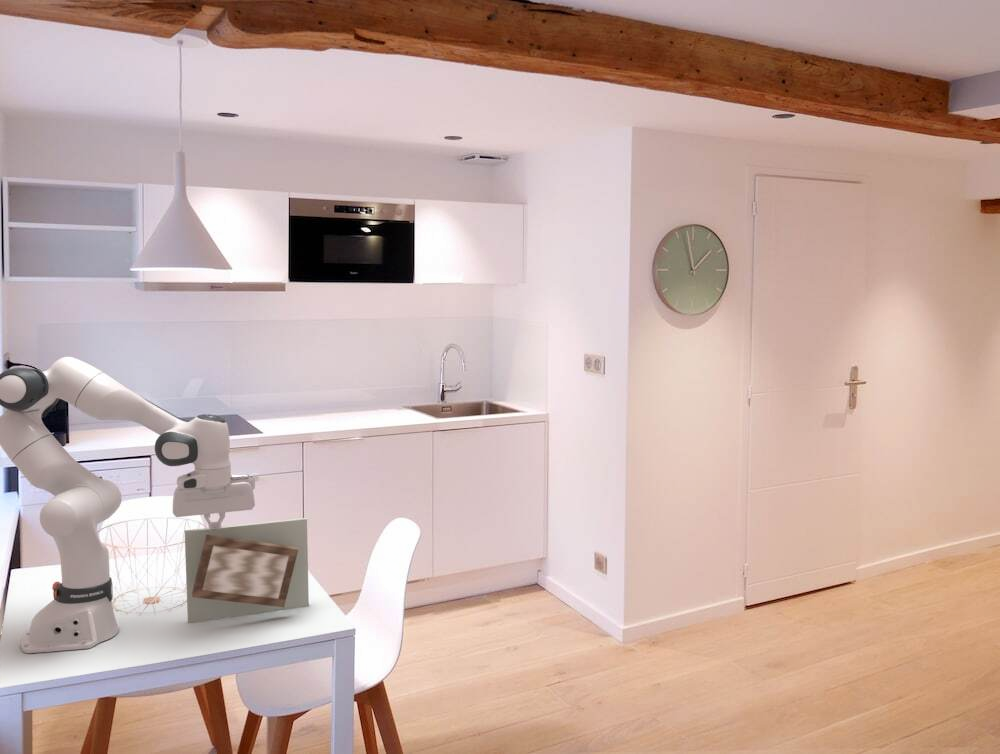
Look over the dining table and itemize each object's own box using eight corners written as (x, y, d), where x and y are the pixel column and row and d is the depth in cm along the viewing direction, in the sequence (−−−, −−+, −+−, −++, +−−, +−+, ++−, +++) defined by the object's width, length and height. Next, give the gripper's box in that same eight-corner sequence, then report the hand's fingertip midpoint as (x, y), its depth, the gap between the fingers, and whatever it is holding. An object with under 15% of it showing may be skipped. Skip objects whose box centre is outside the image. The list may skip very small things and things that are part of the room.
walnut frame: (192, 597, 224) (207, 537, 224) (191, 594, 226) (206, 534, 226) (284, 607, 234) (298, 549, 234) (282, 604, 236) (296, 547, 236)
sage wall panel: (189, 629, 227) (186, 536, 225) (187, 621, 233) (184, 530, 230) (311, 611, 240) (310, 523, 237) (307, 604, 246) (305, 517, 243)
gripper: (252, 471, 231) (254, 522, 233) (170, 478, 223) (173, 530, 225) (256, 476, 226) (257, 528, 227) (172, 483, 217) (174, 537, 219)
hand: (215, 529), depth 226 cm, fingers closed
